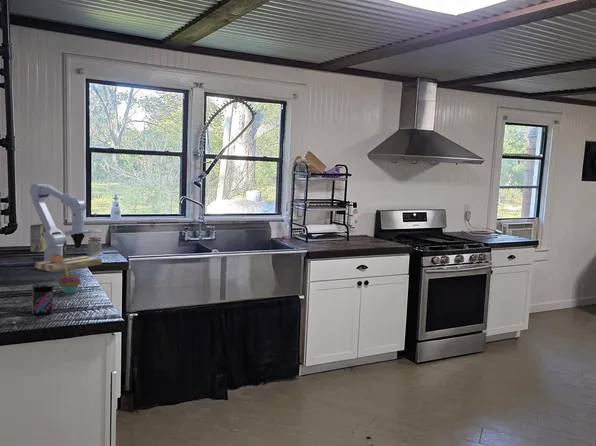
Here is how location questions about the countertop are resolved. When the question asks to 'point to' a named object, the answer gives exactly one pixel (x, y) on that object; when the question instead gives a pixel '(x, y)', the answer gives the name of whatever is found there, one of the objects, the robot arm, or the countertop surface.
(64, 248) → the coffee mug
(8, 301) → the countertop surface
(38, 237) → the coffee box
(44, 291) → the supplement container
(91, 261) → the fader console
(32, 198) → the robot arm
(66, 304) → the countertop surface
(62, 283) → the cupcake
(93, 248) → the french press
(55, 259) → the fader knob
